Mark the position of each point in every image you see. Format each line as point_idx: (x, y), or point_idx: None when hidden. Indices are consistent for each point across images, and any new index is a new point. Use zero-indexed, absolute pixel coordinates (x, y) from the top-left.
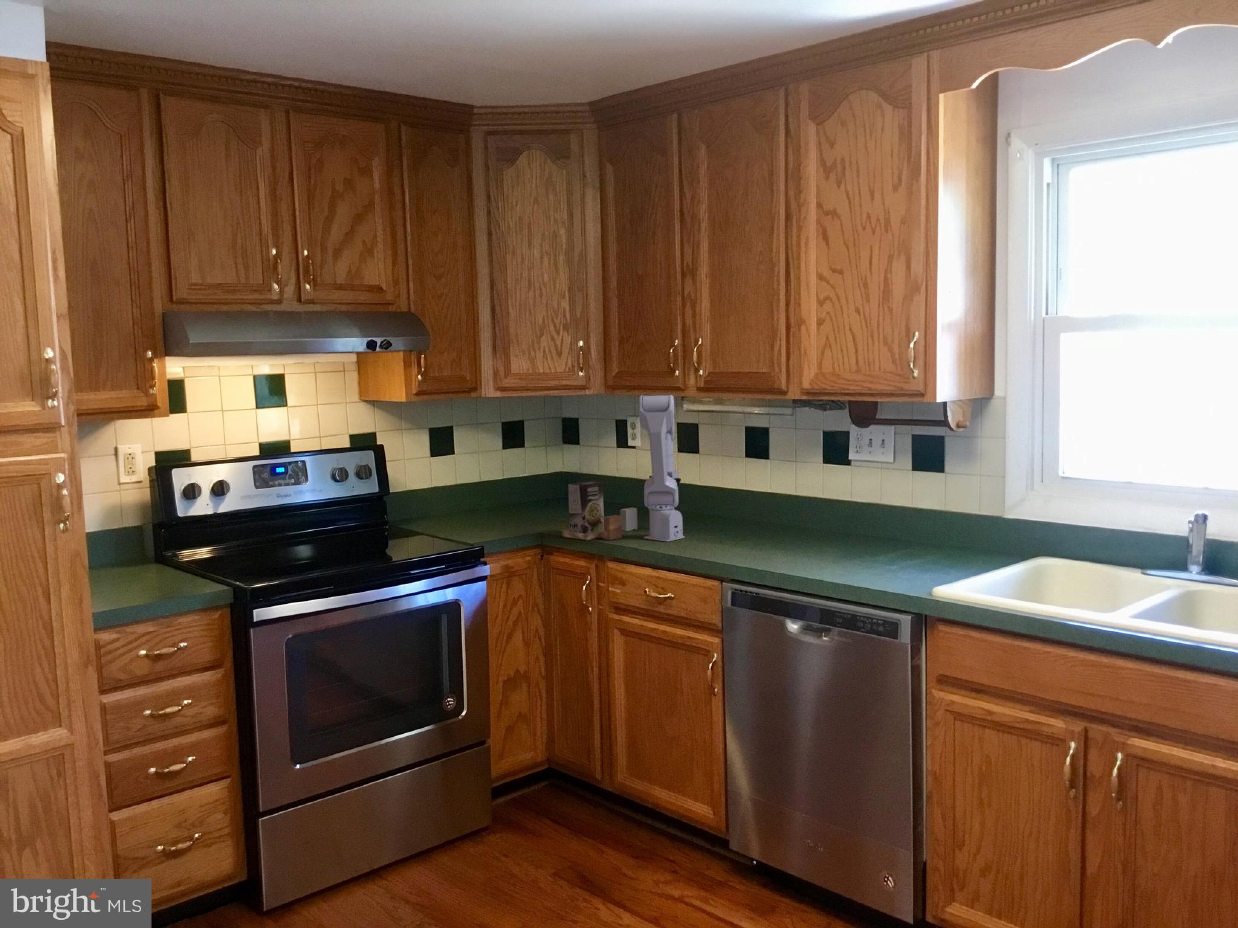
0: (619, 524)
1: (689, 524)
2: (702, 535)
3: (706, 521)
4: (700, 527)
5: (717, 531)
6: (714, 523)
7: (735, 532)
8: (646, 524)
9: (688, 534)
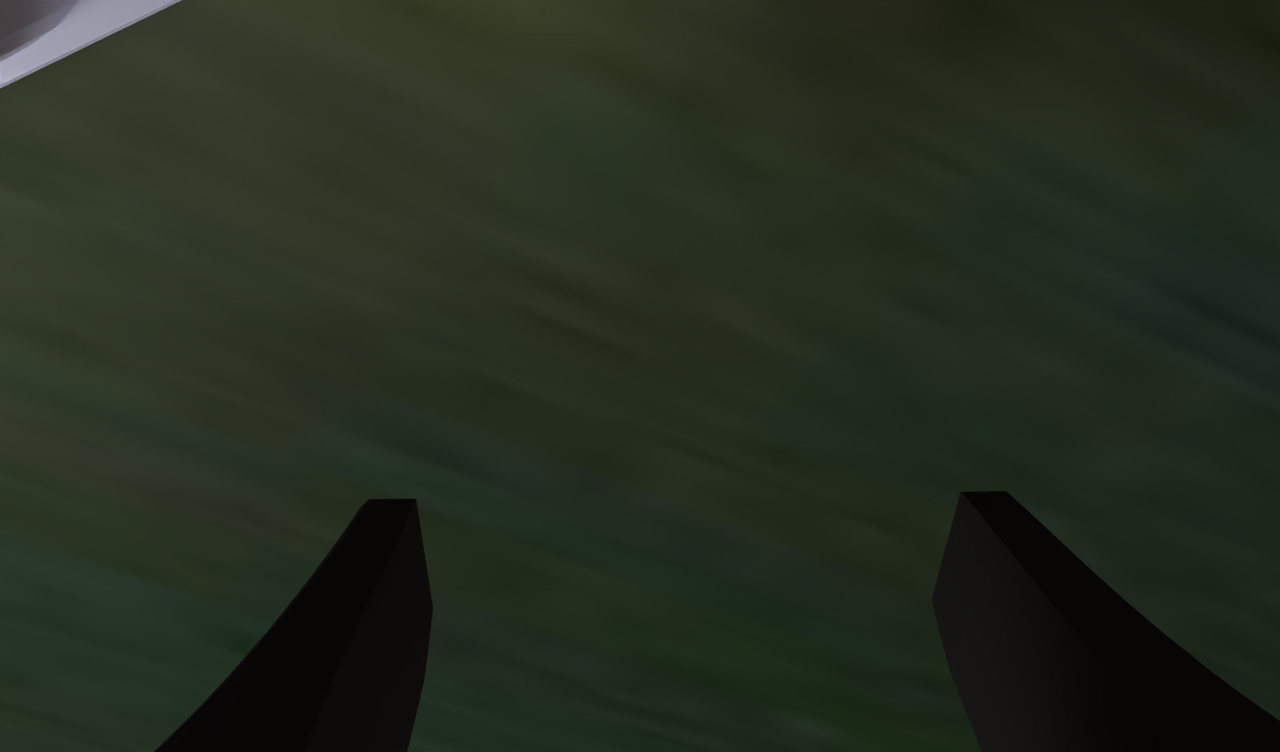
0: None
1: (815, 580)
2: (29, 426)
3: (856, 736)
4: (572, 593)
5: (248, 623)
6: (708, 746)
7: (126, 710)
8: (1221, 197)
9: (157, 326)
